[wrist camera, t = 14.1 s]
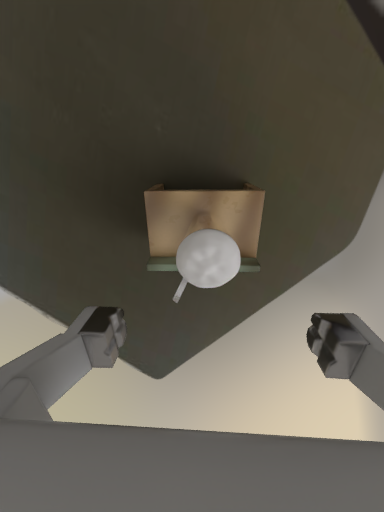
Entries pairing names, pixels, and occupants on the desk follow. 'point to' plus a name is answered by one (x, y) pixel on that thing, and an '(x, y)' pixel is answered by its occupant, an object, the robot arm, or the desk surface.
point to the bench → (188, 207)
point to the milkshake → (206, 254)
